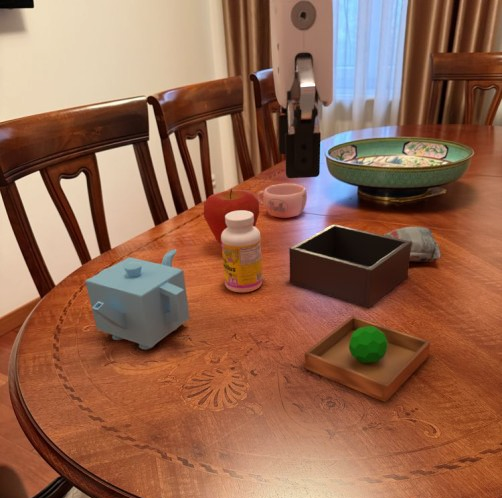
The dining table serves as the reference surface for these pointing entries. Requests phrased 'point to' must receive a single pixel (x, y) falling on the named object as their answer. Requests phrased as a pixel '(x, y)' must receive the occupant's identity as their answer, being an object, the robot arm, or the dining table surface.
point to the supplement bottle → (241, 252)
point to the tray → (367, 374)
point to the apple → (228, 208)
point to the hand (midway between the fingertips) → (297, 164)
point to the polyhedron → (368, 344)
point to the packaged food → (418, 243)
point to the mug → (284, 200)
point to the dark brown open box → (350, 264)
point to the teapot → (139, 300)
